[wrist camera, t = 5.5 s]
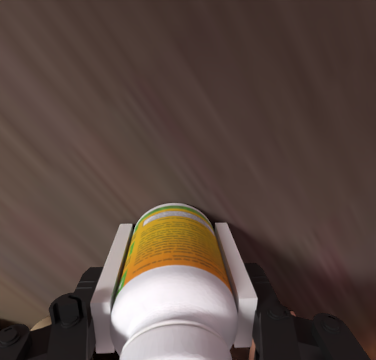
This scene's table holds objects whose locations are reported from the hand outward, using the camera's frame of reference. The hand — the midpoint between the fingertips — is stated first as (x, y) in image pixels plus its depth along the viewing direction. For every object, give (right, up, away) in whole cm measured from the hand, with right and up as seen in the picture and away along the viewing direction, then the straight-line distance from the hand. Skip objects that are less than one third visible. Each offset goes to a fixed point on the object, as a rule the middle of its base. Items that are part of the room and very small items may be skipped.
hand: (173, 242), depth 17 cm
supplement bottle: (0, 0, 0) cm, 1 cm away
